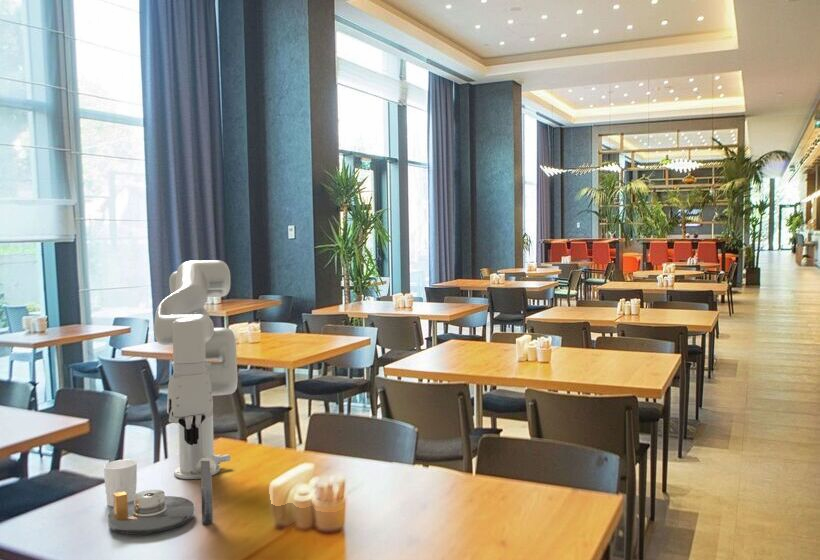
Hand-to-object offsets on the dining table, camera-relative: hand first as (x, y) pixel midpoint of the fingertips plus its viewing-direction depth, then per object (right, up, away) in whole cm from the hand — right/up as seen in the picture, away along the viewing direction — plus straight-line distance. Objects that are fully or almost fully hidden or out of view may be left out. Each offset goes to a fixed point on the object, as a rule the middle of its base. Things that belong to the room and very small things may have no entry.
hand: (191, 443), depth 175 cm
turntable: (-8, -17, -5) cm, 20 cm away
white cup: (-20, -17, +8) cm, 28 cm away
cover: (-8, -15, -6) cm, 18 cm away
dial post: (+6, -17, -6) cm, 19 cm away
